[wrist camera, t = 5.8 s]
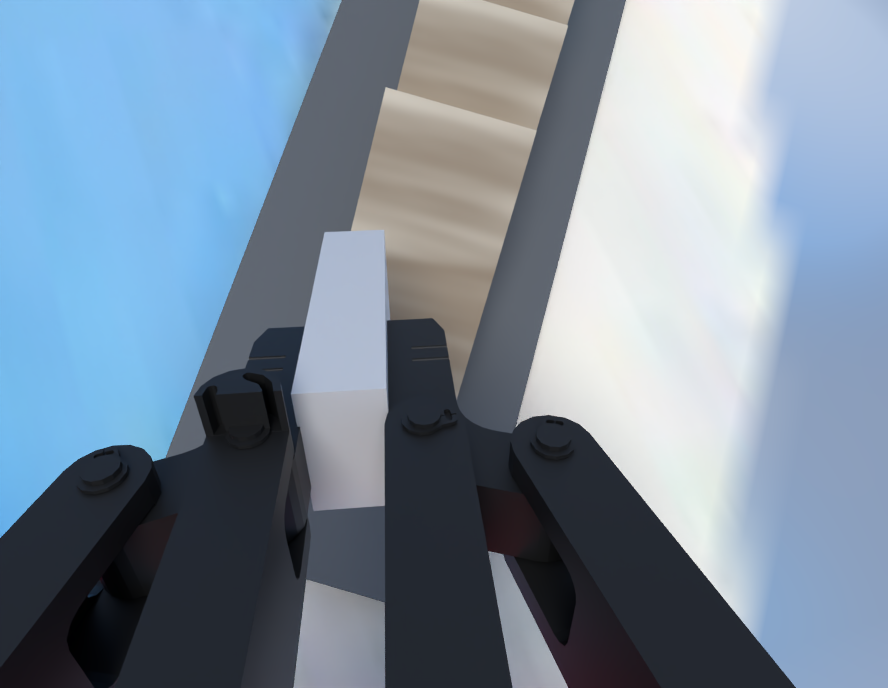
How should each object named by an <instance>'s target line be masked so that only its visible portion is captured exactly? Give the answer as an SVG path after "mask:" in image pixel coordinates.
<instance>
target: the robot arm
mask: <svg viewBox="0 0 888 688" xmlns="http://www.w3.org/2000/svg"><path fill="white" fill-rule="evenodd" d="M194 399H195V402H196V406H197V409H198V412H199V415H200V418H201V422H202V425H203V428H204V431H205V434H206V438H205V441H204V443H203V445H201V446H199V447H197V448H196V449H193V450H190V451H187V452H185V453H182V454H178V455H175V456H171V457H168V458H164V459H161V460H157V461H154V462H153V461H152V458H151V456H150V455H149V454H148V453H147V452H146V451H145V450H144V449H142V448H139V447H135V446H132V445H117V446H111V447H107V448H103V449H100V450H96V451H94V452H92V453H90V454H88V455H86V456H84V457H82V458H80V459H78V460H77V461H76V462H74V463H73V464H72V465H71V466H69V467H68V468H67V469H66V470H65V471H63V472H62V474H61V475H60V476H59V477H58V478H57V479H56V480H55V481H54V482H53V483H52V484H51V485H50V486H49V487H48V488H47V489H46V490H45V492H44V493H43V494H42V495H41V496H40V497H39V498H38V499H37V500H36V501H35V502H34V503H33V504H32V505H31V506H30V507H29V508H28V509H27V511H26V512H25V513H24V514H23V515H22V516H21V517H20V518H19V519H18V520H17V521H16V522H15V523H14V524H13V525H12V526H11V527H10V529H9V530H8V531H7V532H6V533H5V534H4V535H3V536H2V537H1V538H0V688H293V686H294V677H295V669H296V660H297V652H298V643H299V635H300V626H301V618H302V609H303V601H304V592H305V584H306V575H307V567H308V558H309V550H310V542H311V531H310V524H309V519H308V508H309V500H310V496H311V501H312V506H313V511H320V510H334V509H347V508H360V507H374V506H385V688H512V683H511V677H510V672H509V666H508V660H507V655H506V649H505V644H504V638H503V633H502V627H501V621H500V616H499V610H498V605H497V599H496V593H495V588H494V582H493V577H492V571H491V565H490V560H489V554H488V551H491V552H496V553H501V554H504V558H505V561H506V563H507V565H508V567H509V569H510V571H511V573H512V575H513V577H514V579H515V581H516V583H517V585H518V587H519V589H520V591H521V593H522V595H523V597H524V599H525V601H526V603H527V605H528V607H529V609H530V611H531V613H532V615H533V617H534V619H535V621H536V623H537V625H538V627H539V629H540V631H541V633H542V635H543V637H544V639H545V641H546V643H547V645H548V647H549V649H550V651H551V653H552V655H553V657H554V659H555V661H556V663H557V665H558V667H559V669H560V671H561V673H562V675H563V677H564V679H565V682H566V684H567V686H568V688H796V687H795V686H794V685H793V684H792V682H791V681H790V680H789V679H788V677H787V676H786V675H785V674H784V672H783V671H782V670H781V669H780V668H779V666H778V665H777V664H776V663H775V661H774V660H773V659H772V658H771V656H770V655H769V654H768V653H767V652H766V650H765V649H764V648H763V647H762V645H761V644H760V643H759V642H758V641H757V639H756V638H755V637H754V635H753V634H752V633H751V632H750V631H749V629H748V628H747V627H746V626H745V624H744V623H743V622H742V621H741V619H740V618H739V617H738V616H737V615H736V613H735V612H734V611H733V610H732V608H731V607H730V606H729V605H728V603H727V602H726V601H725V600H724V599H723V597H722V596H721V595H720V594H719V592H718V591H717V590H716V589H715V587H714V586H713V585H712V584H711V582H710V581H709V580H708V579H707V578H706V576H705V575H704V574H703V573H702V571H701V570H700V569H699V568H698V566H697V565H696V564H695V563H694V562H693V560H692V559H691V558H690V557H689V555H688V554H687V553H686V552H685V550H684V549H683V548H682V547H681V545H680V544H679V543H678V542H677V541H676V539H675V538H674V537H673V536H672V534H671V533H670V532H669V531H668V529H667V528H666V527H665V526H664V525H663V523H662V522H661V521H660V520H659V518H658V517H657V516H656V515H655V513H654V512H653V511H652V510H651V508H650V507H649V506H648V505H647V504H646V502H645V501H644V500H643V499H642V497H641V496H640V495H639V494H638V492H637V491H636V490H635V489H634V488H633V486H632V485H631V484H630V483H629V481H628V480H627V479H626V478H625V476H624V475H623V474H622V473H621V471H620V470H619V469H618V468H617V467H616V465H615V464H614V463H613V462H612V460H611V459H610V458H609V457H608V455H607V454H606V453H605V452H604V451H603V449H602V448H601V447H600V446H599V444H598V443H597V442H596V441H595V439H594V438H593V437H592V436H591V435H590V433H589V432H587V431H586V430H585V429H584V428H583V427H582V426H580V425H579V424H578V423H575V422H573V421H571V420H568V419H566V418H563V417H557V416H551V415H546V416H535V417H532V418H529V419H527V420H525V421H522V422H521V423H520V424H519V425H518V426H517V427H516V428H515V429H514V430H513V432H512V433H507V432H501V431H495V430H491V429H487V428H483V427H481V426H479V425H477V424H475V423H473V422H471V421H470V420H469V419H467V418H466V417H465V416H464V415H463V414H462V412H461V411H460V409H459V407H458V404H457V400H456V395H455V389H454V383H453V377H452V371H451V366H450V360H449V354H448V348H447V343H446V337H445V331H444V329H443V328H442V327H441V326H440V325H439V324H438V323H437V322H436V321H435V320H434V319H433V318H425V319H405V320H390V309H389V294H388V279H387V264H386V249H385V234H384V230H365V231H340V232H324V237H323V242H322V247H321V252H320V257H319V261H318V266H317V271H316V276H315V281H314V285H313V290H312V295H311V300H310V305H309V309H308V314H307V319H306V324H305V326H302V327H283V328H268V329H267V330H266V331H265V332H264V333H263V334H262V335H261V336H260V337H259V338H258V339H257V340H256V341H255V342H254V343H253V346H252V349H251V352H250V355H249V360H248V361H247V364H246V367H245V368H244V369H238V370H232V371H228V372H225V373H223V374H220V375H217V376H215V377H213V378H211V379H210V380H209V381H207V382H206V383H204V384H203V385H201V386H200V388H199V389H198V391H197V392H196V393H195V395H194Z"/></svg>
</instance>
